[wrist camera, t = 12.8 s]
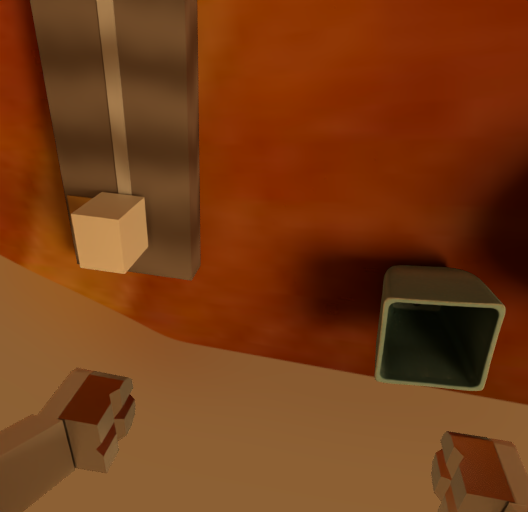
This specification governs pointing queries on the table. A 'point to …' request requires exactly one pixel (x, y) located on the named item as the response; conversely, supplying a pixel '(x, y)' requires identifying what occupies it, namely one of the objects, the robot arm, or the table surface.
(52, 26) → the track board
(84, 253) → the fader
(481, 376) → the flower pot
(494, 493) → the robot arm
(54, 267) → the table surface
